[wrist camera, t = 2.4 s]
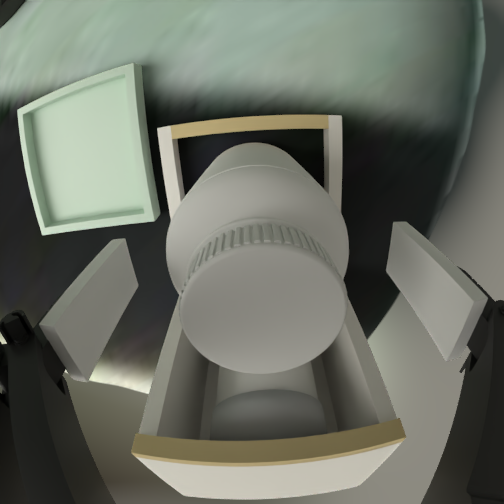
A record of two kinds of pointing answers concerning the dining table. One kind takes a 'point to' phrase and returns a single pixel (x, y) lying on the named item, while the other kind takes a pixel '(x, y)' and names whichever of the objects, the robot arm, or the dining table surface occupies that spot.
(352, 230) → the dining table surface
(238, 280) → the pill bottle
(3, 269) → the dining table surface
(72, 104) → the tray
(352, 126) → the dining table surface
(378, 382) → the dispenser
